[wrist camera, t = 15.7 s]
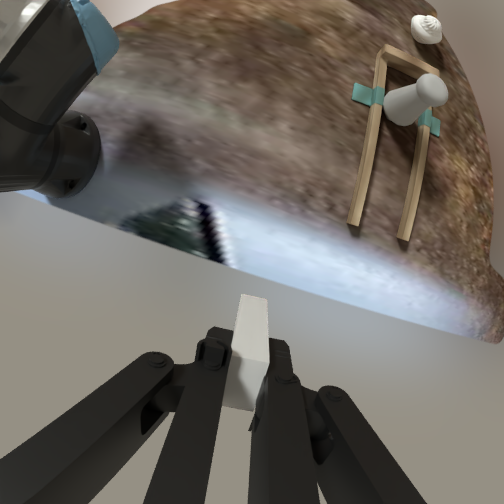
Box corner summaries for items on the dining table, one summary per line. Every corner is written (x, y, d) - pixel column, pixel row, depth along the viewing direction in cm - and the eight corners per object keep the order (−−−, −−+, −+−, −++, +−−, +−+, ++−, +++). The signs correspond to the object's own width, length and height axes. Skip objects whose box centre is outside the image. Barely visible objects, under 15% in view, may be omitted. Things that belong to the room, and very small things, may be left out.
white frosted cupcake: (433, 36, 31) (451, 21, 24) (430, 56, 32) (449, 42, 25) (406, 18, 31) (422, 1, 24) (401, 37, 32) (418, 20, 25)
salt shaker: (415, 119, 35) (462, 101, 23) (392, 134, 36) (438, 117, 23) (395, 89, 34) (436, 60, 22) (370, 103, 35) (409, 73, 22)
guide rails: (326, 217, 39) (333, 219, 35) (359, 47, 33) (367, 36, 29) (417, 243, 39) (430, 248, 35) (441, 85, 33) (453, 79, 29)
